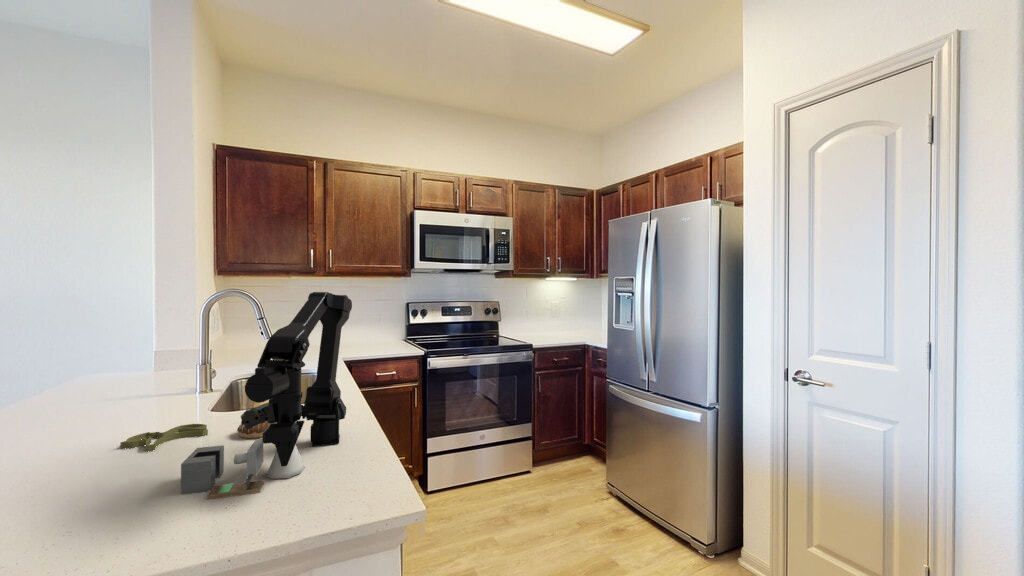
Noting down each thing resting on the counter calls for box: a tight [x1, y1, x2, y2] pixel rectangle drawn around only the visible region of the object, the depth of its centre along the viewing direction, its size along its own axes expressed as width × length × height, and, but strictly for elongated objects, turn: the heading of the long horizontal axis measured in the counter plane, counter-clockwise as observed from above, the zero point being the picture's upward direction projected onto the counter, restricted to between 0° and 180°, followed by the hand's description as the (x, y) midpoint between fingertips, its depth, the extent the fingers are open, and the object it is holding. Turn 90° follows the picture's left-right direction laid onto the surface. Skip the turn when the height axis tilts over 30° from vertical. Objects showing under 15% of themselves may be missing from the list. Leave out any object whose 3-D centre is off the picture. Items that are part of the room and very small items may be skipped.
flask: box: [266, 443, 306, 480], centre depth 95 cm, size 7×7×10 cm
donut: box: [237, 420, 277, 439], centre depth 121 cm, size 11×11×4 cm
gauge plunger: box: [233, 438, 265, 485], centre depth 91 cm, size 5×12×5 cm, turn 20°
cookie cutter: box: [119, 423, 209, 453], centre depth 115 cm, size 18×12×2 cm, turn 154°
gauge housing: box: [180, 445, 265, 500], centre depth 90 cm, size 14×13×6 cm
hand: (286, 461), depth 95 cm, fingers closed on flask, 5 cm apart
